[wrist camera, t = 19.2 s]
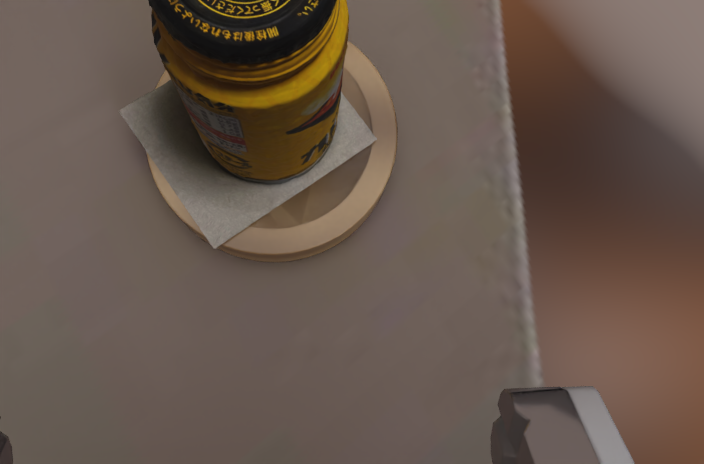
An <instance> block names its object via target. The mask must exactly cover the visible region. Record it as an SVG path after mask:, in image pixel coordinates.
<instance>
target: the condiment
mask: <svg viewBox="0 0 704 464" xmlns="http://www.w3.org/2000/svg"><path fill="white" fill-rule="evenodd" d="M149 5H150V6H151V7H152V15H151V16H152V32H153V36H154V43H155V45H156V48H157V50H158V52H159V54H160V57H161V59H162V62H163V64H164V67H165V69H166V70H167V72H168V74H169V76H170V78H171V80H169V81H168V82H166V83H165V84H163V85H162V86H160V87H158V88H157V89H155V90H153V91H152V92H150V93H148V94H146V95H144V96H142V97H140V98H138V99H137V100H135V101H134V102H132V103H131V104H129V105H128V106H126V107H124V108H123V109H121V110H119V112H120V114H121V115H122V117H123V118H124V120H125V121H126V123H127V124H128V125H129V127H130V128H131V130H132V131H133V133H134V134H135V135H136V137H137V138H138V140H139V141H140V143H141V144H142V146H143V147H144V148H145V150H146V151H147V153H148V154H149V156H150V157H151V159H152V160H153V162H154V163H155V164H156V166H157V167H158V168H159V170H160V172H161V173H162V174H163V176H164V177H165V179H166V180H167V182H168V183H169V185H170V186H171V188H172V189H173V190H174V192H175V193H176V195H177V196H178V198H179V199H180V201H181V202H182V203H183V205H184V206H185V208H186V209H187V211H188V212H189V214H190V215H191V216H192V218H193V219H194V221H195V222H196V224H197V225H198V226H199V228H200V230H201V231H202V232H203V234H204V235H205V237H206V238H207V240H208V241H209V243H210V244H211V245H212V247H213V248H214V249H215V248H217V247H218V246H220V245H221V244H223V243H224V242H226V241H227V240H228V239H230V238H231V237H233V236H234V235H236V234H237V233H239V232H241V231H242V230H244V229H245V228H247V227H248V226H249V225H251V224H252V223H253V222H255V221H257V220H258V219H260V218H261V217H262V216H264V215H266V214H267V213H269V212H270V211H272V210H273V209H274V208H276V207H277V206H279V205H281V204H282V203H284V202H285V201H287V200H288V199H290V198H291V197H293V196H294V195H296V194H298V193H299V192H301V191H302V190H304V189H305V188H307V187H308V186H310V185H311V184H313V183H314V182H316V181H317V180H318V179H320V178H321V177H323V176H324V175H326V174H328V173H329V172H330V171H332V170H333V169H335V168H336V167H338V166H339V165H341V164H342V163H344V162H345V161H347V160H348V159H350V158H351V157H352V156H354V155H356V154H357V153H359V152H360V151H362V150H363V149H364V148H366V147H367V146H369V145H370V144H372V143H373V142H374V141H376V140H377V138H376V137H375V136H374V134H373V133H372V132H371V130H370V129H369V128H368V126H367V125H366V124H365V122H364V121H363V120H362V118H361V117H360V116H359V115H358V113H357V112H356V110H355V109H354V108H353V107H352V106H351V104H350V103H349V101H348V100H347V99H346V98H345V96H344V95H343V93H342V92H341V87H342V77H343V67H344V60H345V55H346V49H347V47H348V45H347V41H348V31H349V29H348V23H349V14H348V8H347V2H346V0H149Z"/></svg>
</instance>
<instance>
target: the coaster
mask: <svg viewBox="0 0 704 464" xmlns="http://www.w3.org/2000/svg"><path fill="white" fill-rule="evenodd" d="M347 45H348V47H347V49H346V55H345V60H344V67H343V77H342V87H341V92H342V93H343V95H344V96H345V98H346V99H347V100H348V101H349V103H350V104H351V106H352V107H353V108H354V109H355V110H356V112H357V113H358V115H359V116H360V117H361V118H362V120H363V121H364V122H365V124H366V125H367V126H368V128H369V129H370V130H371V132H372V133H373V134H374V136H375V137H376V138H377V140H376V141H374V142H373V143H372V144H370V145H369V146H367V147H366V148H364V149H363V150H362V151H360V152H359V153H357V154H356V155H354V156H352V157H351V158H350V159H348V160H347V161H345V162H344V163H342V164H341V165H339V166H338V167H336V168H335V169H333V170H332V171H330V172H329V173H328V174H326V175H324V176H323V177H321V178H320V179H318V180H317V181H316V182H314V183H313V184H311V185H310V186H308V187H307V188H305V189H304V190H302V191H301V192H299V193H298V194H296V195H294V196H293V197H291V198H290V199H288V200H287V201H285V202H284V203H282V204H281V205H279V206H277V207H276V208H274V209H273V210H272V211H270V212H269V213H267V214H266V215H264V216H262V217H261V218H260V219H258V220H257V221H255V222H253V223H252V224H251V225H249V226H248V227H247V228H245V229H244V230H242V231H241V232H239V233H237V234H236V235H234V236H233V237H231V238H230V239H228V240H227V241H226V242H224V243H223V244H221V245H220V246H218V247H217V248H218V249H220V250H222V251H224V252H226V253H229V254H231V255H234V256H238V257H241V258H244V259H249V260H255V261H261V262H284V261H294V260H298V259H303V258H307V257H310V256H313V255H316V254H319V253H321V252H324V251H326V250H328V249H330V248H331V247H333V246H335V245H337V244H339V243H340V242H342V241H343V240H344V239H346V238H347V237H349V236H350V235H351V234H352V233H353V232H354V231H355V230H357V229H358V228H359V227H360V226H361V225H362V224H363V222H364V221H365V220H366V219H367V218H368V216H369V215H370V214H371V213H372V211H373V209H374V208H375V206H376V205H377V203H378V202H379V200H380V197H381V195H382V193H383V191H384V189H385V186H386V184H387V182H388V180H389V177H390V175H391V172H392V168H393V165H394V161H395V156H396V149H397V122H396V114H395V110H394V106H393V102H392V99H391V96H390V94H389V92H388V89H387V87H386V84H385V83H384V81H383V79H382V77H381V76H380V74H379V72H378V71H377V69H376V68H375V67H374V66H373V64H372V63H371V62H370V60H369V59H368V58H367V57H366V56H365V55H364V54H363V53H362V52H361V51H360V50H359V49H358V48H357V47H356V46H354V45H353V44H352V43H351V42H349V41H347ZM169 80H171V78H170V76H169V74H168V72H167V70H165V72H164V73H163V75H162V77H161V79H160V80H159V82H158V84H157V86H156V88H155V89H157V88H158V87H160V86H162V85H163V84H165V83H166V82H168V81H169ZM146 152H147V151H146ZM147 158H148V163H149V167H150V170H151V172H152V175H153V178H154V181H155V183H156V185H157V187H158V189H159V191H160V193H161V195H162V196H163V198H164V199H165V200H166V202H167V203H168V205H169V206H170V208H171V209H172V210H173V211H174V212H175V213H176V214H177V215H178V216H179V218H180V219H181V220H182V221H183V222H184V223H185V224H186V225H187V226H188V227H189V228H190V229H191V230H192V231H193V232H194V233H196V234H197V235H198V236H199V237H200V238H202V239H203V240H204V241H206V242H208V243H209V241H208V240H207V238H206V237H205V235H204V234H203V232H202V231H201V230H200V228H199V226H198V225H197V224H196V222H195V221H194V219H193V218H192V216H191V215H190V214H189V212H188V211H187V209H186V208H185V206H184V205H183V203H182V202H181V201H180V199H179V198H178V196H177V195H176V193H175V192H174V190H173V189H172V188H171V186H170V185H169V183H168V182H167V180H166V179H165V177H164V176H163V174H162V173H161V172H160V170H159V168H158V167H157V166H156V164H155V163H154V162H153V160H152V159H151V157H150V156H149V154H148V153H147ZM209 244H210V243H209Z"/></svg>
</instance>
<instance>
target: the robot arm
mask: <svg viewBox="0 0 704 464" xmlns="http://www.w3.org/2000/svg"><path fill="white" fill-rule="evenodd" d="M498 407H499V410H500V414H501V417H499V418H498V419H497V420H496V421H495V422H494V423H493V427H492V432H491V457H492V463H493V464H635V463H634V461H633V459H632V457H631V455H630V453H629V451H628V449H627V447H626V445H625V443H624V441H623V439H622V437H621V436H620V433H619V431H618V430H617V428H616V426H615V424H614V422H613V420H612V418H611V416H610V414H609V412H608V410H607V408H606V406H605V404H604V402H603V400H602V398H601V396H600V394H599V392H598V391H597V390H596V389H595V388H594V387H593V386H585V387H562V388H561V387H542V388H515V389H504V390H503V391H502V392H501V394H500V397H499V401H498ZM0 418H1V417H0ZM0 464H13V454H12V446H11V444H10V441H9V438H8V436H6V435H5V434H3V433H2V432H0Z"/></svg>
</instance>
